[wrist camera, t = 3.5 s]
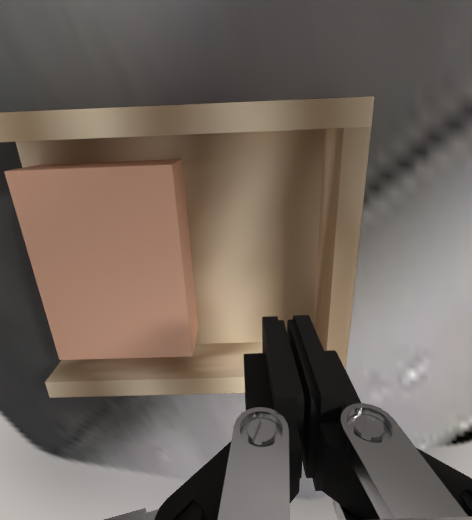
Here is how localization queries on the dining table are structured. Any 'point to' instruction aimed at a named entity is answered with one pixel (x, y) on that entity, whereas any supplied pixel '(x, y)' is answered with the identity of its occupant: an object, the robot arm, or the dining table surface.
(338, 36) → the dining table surface
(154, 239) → the cover plate
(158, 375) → the wooden tray
